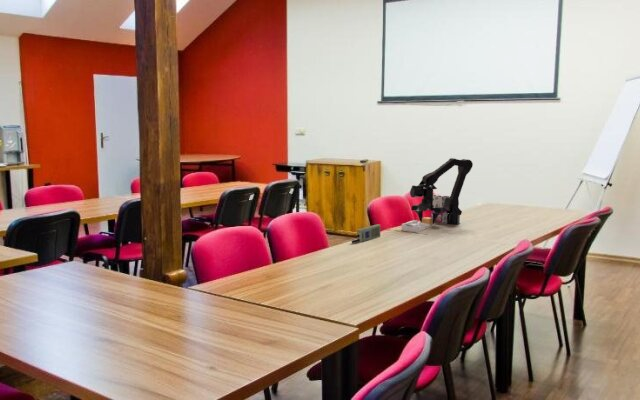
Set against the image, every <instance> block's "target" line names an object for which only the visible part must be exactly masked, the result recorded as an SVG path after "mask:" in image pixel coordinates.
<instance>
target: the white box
mask: <svg viewBox="0 0 640 400" xmlns="http://www.w3.org/2000/svg"><path fill="white" fill-rule="evenodd" d="M427 228H431V226H430V224H425V223H421V222H419V221H418V219H415V220H410V221H407V222H404V223H401V231H403V230H404V231H405V232H411V233H420V232H422V231H423V230H425V229H427ZM404 231H403V232H404Z"/></svg>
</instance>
